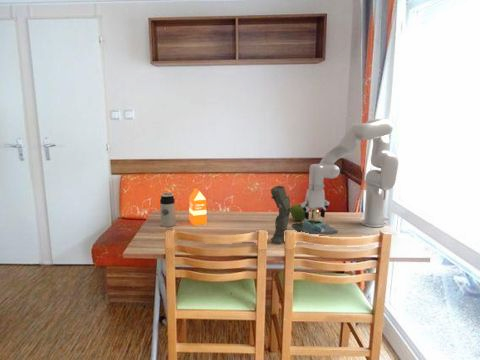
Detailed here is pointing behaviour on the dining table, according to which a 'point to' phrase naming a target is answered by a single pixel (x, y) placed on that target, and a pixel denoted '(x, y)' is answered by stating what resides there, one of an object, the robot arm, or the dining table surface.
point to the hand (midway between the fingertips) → (314, 217)
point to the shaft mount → (314, 227)
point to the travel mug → (167, 209)
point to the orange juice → (197, 208)
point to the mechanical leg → (280, 213)
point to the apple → (297, 212)
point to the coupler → (314, 216)
